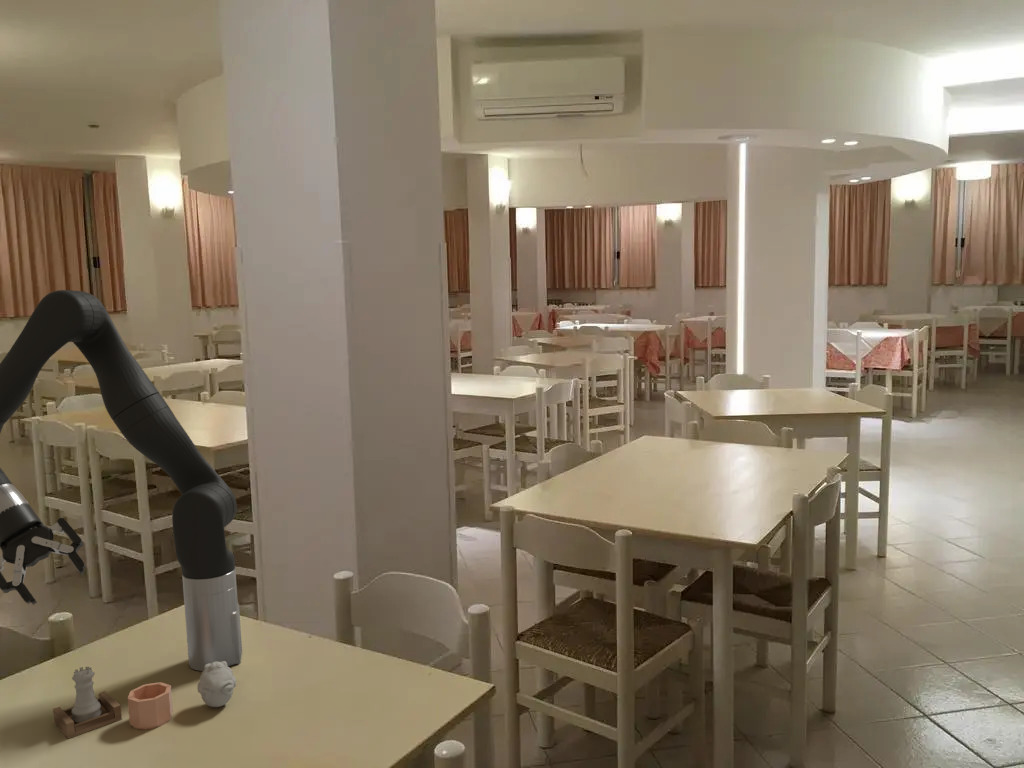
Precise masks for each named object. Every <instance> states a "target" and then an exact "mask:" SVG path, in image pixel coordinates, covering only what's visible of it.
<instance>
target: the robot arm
mask: <svg viewBox="0 0 1024 768" xmlns="http://www.w3.org/2000/svg"><path fill="white" fill-rule="evenodd" d="M68 343H72V344H73V345H75V346H76V348H77V349H78V350H79V351H80V352H81V354H82V355H83V356H84V358H85V359H86V360H87V362H88V363H89V365H90V367H91V368H92V370H93V372H94V373H95V376H96V378H97V383H98V386H99V390H100V394H101V397H102V401H103V405H104V407H105V409H106V411H107V414H108V415H109V418H110V419H111V420H112V421H113V423H114V424H115V425H116V427H117V429H118V430H119V432H120V433H121V435H122V436H123V437H124V438H125V440H126V441H127V442H128V443H129V445H131V446H132V447H133V448H134V449H135V450H137V451H138V452H139V453H141V454H142V455H143V456H144V457H146V458H147V459H148V460H149V461H151V462H153V463H155V464H156V465H157V466H158V467H159V468H160V469H162V470H163V471H164V472H165V473H166V474H167V475H168V476H169V478H170V479H171V480H172V482H173V484H174V485H175V486H176V488H177V489H178V491H179V492H180V493H181V495H180V496H179V497H178V498H177V499H176V501H175V503H174V505H173V508H172V514H171V515H172V517H171V518H172V520H171V521H172V522H171V523H172V533H173V541H174V547H175V557H176V559H177V562H178V564H179V565H180V567H181V575H182V577H181V578H182V592H183V601H184V614H185V615H184V616H185V628H186V631H185V632H186V642H187V644H186V645H187V657H188V665H189V667H190V668H191V669H193V670H195V671H200V672H203V671H204V667H205V665H206V664H209V663H210V664H211V663H213V662H216V661H218V662H222V661H226V663H227V666H228V667H231V666H233V665H237V664H241V661H242V660H241V659H242V654H243V653H242V652H243V644H242V642H243V641H242V629H241V614H240V613H241V612H240V603H239V601H238V588H237V587H238V586H237V576H236V575H237V573H236V562H235V561H236V560H235V559H236V558H235V555H234V553H233V552H232V551H231V550H228V548H227V542H226V533H225V528H226V527H228V525H230V523H231V522H232V521H234V518H235V517H236V514H237V510H238V509H237V508H238V506H237V503H238V502H237V500H236V496H235V494H234V492H233V491H232V490H231V488H230V487H229V485H228V484H227V483H226V482H225V480H224V479H223V478H222V477H221V476H220V475H219V474H218V473H217V471H216V470H215V469H214V468H213V466H211V464H210V463H209V462H208V461H207V459H205V457H204V456H203V454H201V453H200V451H199V449H198V448H197V446H196V445H195V443H194V442H193V440H192V439H191V438H190V436H189V434H188V433H187V432H186V430H185V428H184V427H183V426H182V425H181V423H180V421H179V420H178V419H177V417H176V416H175V414H174V412H173V411H172V409H171V407H170V406H169V404H168V403H167V402H166V400H165V398H164V397H163V396H162V395H161V393H160V391H159V390H158V389H157V387H156V386H155V385H154V384H153V382H152V381H151V380H150V378H149V377H148V375H147V374H146V372H145V371H144V369H143V368H142V366H141V365H140V364H139V362H138V361H137V359H136V358H135V357H134V355H132V353H131V352H130V350H129V349H128V347H127V346H126V343H125V342H124V340H123V338H122V337H121V334H120V333H119V332H118V329H117V328H116V325H115V324H114V321H113V320H112V318H111V316H110V314H109V313H108V311H107V309H106V308H105V306H104V304H103V303H102V301H100V299H99V298H98V297H96V296H94V295H93V294H91V293H89V292H86V291H81V290H71V289H61V290H60V289H59V290H54V291H52V292H48V294H46V295H45V296H43V297H42V298H41V299H40V301H39V302H38V304H37V306H36V307H35V308H34V310H33V312H32V313H31V315H30V317H29V318H28V320H27V322H26V324H25V325H24V327H23V329H22V330H21V332H20V334H19V335H18V337H17V338H16V340H15V342H14V343H13V344H12V346H11V348H10V349H9V351H8V352H7V353H6V355H5V356H4V357H3V359H2V360H1V362H0V434H1V433H2V429H3V428H4V425H5V424H6V422H7V423H8V421H9V420H10V419H11V418H12V416H13V415H14V414H15V413H16V412H17V410H18V409H19V408H20V407H21V406H22V405H23V403H24V402H25V401H26V399H27V398H28V396H29V395H30V393H31V391H32V390H33V388H34V387H33V386H34V384H35V383H36V380H37V378H38V376H39V373H40V372H41V370H42V369H43V368H44V366H45V364H46V363H47V361H49V360H50V358H51V357H53V355H55V354H56V353H57V352H58V351H59V350H61V348H63V347H64V346H66V345H67V344H68ZM54 533H58V534H61V535H63V534H65V535H66V536H67V538H69V539H70V541H71V542H72V543H70V545H68V544H64V543H61V542H59V541H55V540H54ZM83 546H84V542H83V540H82V538H81V537H80V536H79V534H78V533H77V532H76V531H75V530H74V528H73V527H72V526H71V525H70V523H69V522H67V520H66V519H65V518H64V517H60V518H58V519H57V521H56V522H55V523H54V524H52V525H51V526H50V527H49V526H46V525H45V524H44V523H43V522H42V520H41V519H40V517H39V516H38V514H37V513H36V512H35V510H34V509H33V508H32V507H31V505H30V503H29V501H28V500H27V499H26V498H25V496H24V495H23V494H22V492H20V491H19V490H18V489H17V488H16V486H15V485H13V483H12V481H11V480H10V478H9V477H8V476H7V474H6V473H5V472H4V470H3V469H2V468H1V467H0V550H1V552H2V554H1V556H0V590H1V592H3V593H5V594H7V593H9V592H12V591H16V592H17V593H18V594H19V596H20V598H21V599H22V600H23V601H24V602H25V604H27V605H29V604H32V605H33V606H34V605H35V604H37V603H38V602H37V600H36V598H34V596H33V595H32V593H31V592H30V590H29V589H28V587H27V585H25V583H24V581H25V577H26V573H27V568H29V567H31V568H33V567H34V566H35V565H37V564H38V563H39V562H40V561H43V560H45V559H47V558H48V557H49V556H50V554H51V553H52V554H57V555H63V556H67V557H68V559H69V560H70V562H71V563H72V564H73V566H74V567H75V569H76V570H77V571H78V572H79V574H80V575H83V574H84V573H85V569H86V564H85V562H84V561H83V559H82V558H81V557H80V555H79V554H78V550H79V549H80V548H83ZM4 563H8V564H13V566H14V567H13V576H12V577H13V578H12V580H11V581H7V579H6V578H5V576H4V574H3V573H2V571H3V570H4V569H5V567H4Z"/></svg>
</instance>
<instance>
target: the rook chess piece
mask: <svg viewBox="0 0 1024 768" xmlns="http://www.w3.org/2000/svg"><path fill="white" fill-rule="evenodd" d="M94 675H95V672H94V671H93V670H92V667H90V666H85V669H84V667H83V666H81V667H79V669H78V668H77V669H74V672H73V675H72V677H71V680H72V681H74V682H75V685H74V686H73V687H74V689H75V692H76V693H75V702H74V704H73V706H72V707H73V709H72V712H71V713H72V715H73V716H72V720H73V721H74V722H76V723H80V722H83V721H86V720H89V719H92V718H95V717H97V716H100V715H101V713H102V710H101V709H100V708H101V704H100V703H99V702H98V700H97V699H98V698H96V694H95V691H94V684H95V682H94V681H93V677H94Z"/></svg>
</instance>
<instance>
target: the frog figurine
mask: <svg viewBox="0 0 1024 768" xmlns="http://www.w3.org/2000/svg"><path fill="white" fill-rule="evenodd" d="M233 672H234V671H233V670H232V669H231V668H230V666H227V663H226V661H222V662H218V661H216V662H213V663H211V664H210V663H209V664H206V665H205V667H204V671H201V675H200V676H199V682H198V683H197V692H198V693H199V694H200V696H201V699H202V701H203V703H205V705H207V706H209V707H210V708H220V707H223V706H224V705H226V704H227V703H228V702H229V701H230V700H231V698H232V695H233V693H234V689H235V687H236V685H237V680H236V677H235V676H234V673H233Z"/></svg>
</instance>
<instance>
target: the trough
mask: <svg viewBox="0 0 1024 768" xmlns="http://www.w3.org/2000/svg"><path fill="white" fill-rule="evenodd" d="M96 699H97V700H98V702H99V703H100V704H101V708H100V709H101V710H102V713H101V715H100V716H97V717H95V718H92V719H89V720H86V721H83V722H80V723H76V722H74V721H73V720H72V716H73V715H72V713H71V712H72V709H73V707H74V706H71V707H69V708H66V709H63V708H61V706H57V707H54V708H52V714H53V723H54V725H56V727H58V729H59V730H60V731H61V732H62V733H63V735H64V736H66V738H67V739H71V738H74V737H77V736H80V735H82V734H85V733H88V732H91V731H93V730H95V729H99V728H102V727H105V726H107V725H110V724H113V723H115V722H118V721H121V720H122V718H123V717H122V706H121V704H120V703H119V702H118V701H117V700H115V698H113V697H112V696H111V695H110V694H109V693H108V692H106V691H102V692H98V698H96Z"/></svg>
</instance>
